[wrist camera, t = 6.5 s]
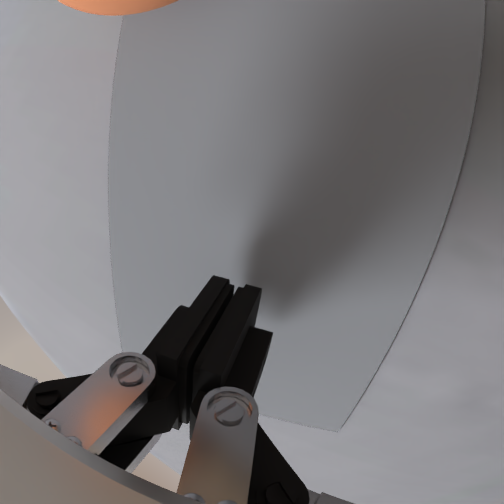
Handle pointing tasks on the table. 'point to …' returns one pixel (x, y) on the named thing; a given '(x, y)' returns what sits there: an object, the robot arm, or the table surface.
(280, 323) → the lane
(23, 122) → the table surface
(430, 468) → the table surface
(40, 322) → the table surface
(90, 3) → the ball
